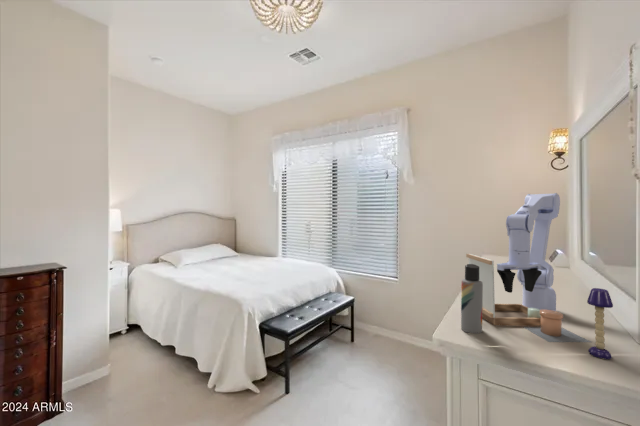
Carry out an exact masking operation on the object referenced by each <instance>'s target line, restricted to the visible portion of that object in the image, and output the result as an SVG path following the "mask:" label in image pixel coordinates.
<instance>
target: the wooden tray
mask: <svg viewBox="0 0 640 426" xmlns="http://www.w3.org/2000/svg"><path fill="white" fill-rule="evenodd" d="M482 319H484V320H486V321H487V322H489V323H490V324H492V325H493V326H512V327H513V326H514V327H515V326H518V327H519V326H521V327H541V318H528V307H526V306H524V305H523V303H522V304H521V303H495V318H490V317H489V316H487V315H486V314H484V313H482Z"/></svg>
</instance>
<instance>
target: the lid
mask: <svg viewBox="0 0 640 426" xmlns="http://www.w3.org/2000/svg"><path fill="white" fill-rule="evenodd" d="M465 257H466V259H468V264H474V265H477V266H479V281H482V282H483V308H482V313H484V314H486V315H487V316H489V317H490V318H495V304H496V302H495V299H496V298H495V267H494V266H495V263H494V262H495V261H494V260H492V259H490V258H486V257H482V256H479V255H475V254H472V253H466V254H465Z"/></svg>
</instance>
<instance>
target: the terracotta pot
mask: <svg viewBox="0 0 640 426" xmlns="http://www.w3.org/2000/svg"><path fill="white" fill-rule="evenodd" d="M540 315H541V326H540V327H541V330H540V331H541V332H542V333H544V334H547V335H550V336H557V337H559V336H561V333H562V328H563V326H562V325H563V324H562V323H563V321H562V320H564V314H563V313H561V312H559V311H557V310H556V311H553V310H545V309H542V310H540Z"/></svg>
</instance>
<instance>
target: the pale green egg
mask: <svg viewBox="0 0 640 426" xmlns="http://www.w3.org/2000/svg"><path fill="white" fill-rule="evenodd" d="M528 318H541V315H540V309H537V308H528Z"/></svg>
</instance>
